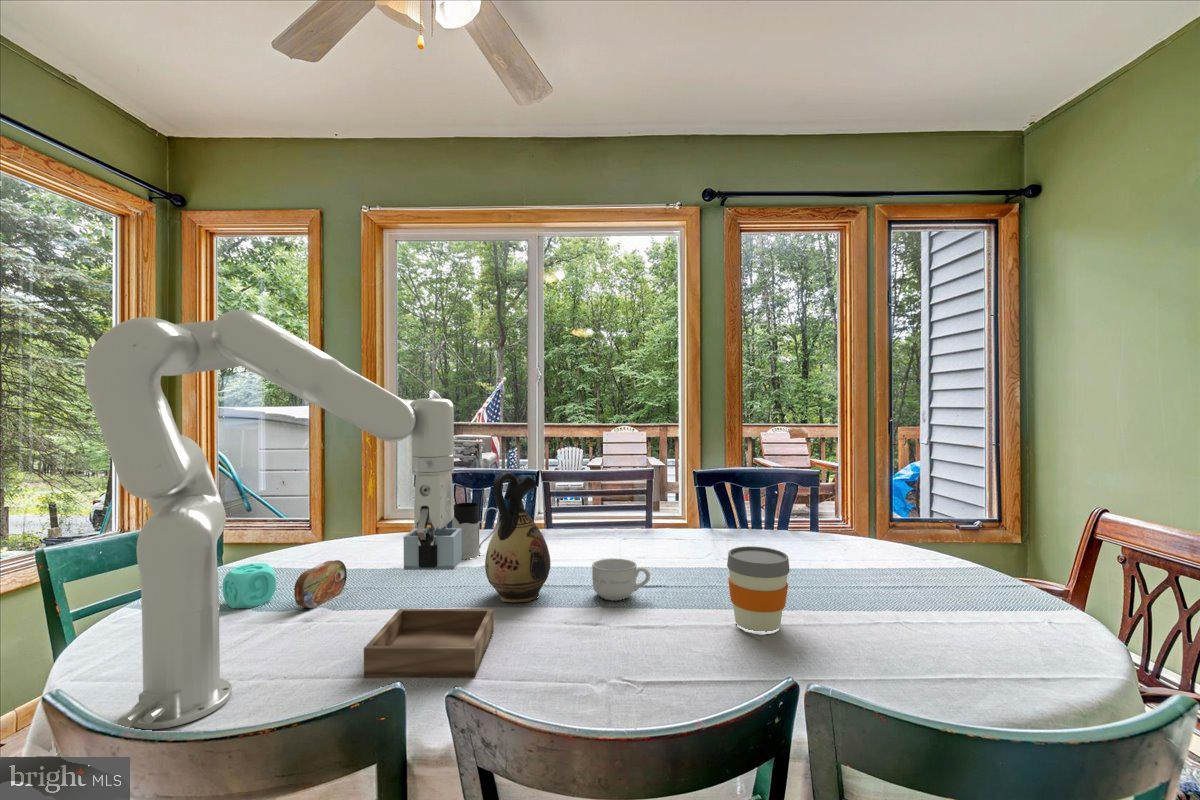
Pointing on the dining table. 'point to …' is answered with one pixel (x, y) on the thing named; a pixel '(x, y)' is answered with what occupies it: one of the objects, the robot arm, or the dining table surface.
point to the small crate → (446, 549)
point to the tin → (320, 584)
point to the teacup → (616, 578)
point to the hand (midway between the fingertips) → (433, 560)
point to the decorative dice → (249, 585)
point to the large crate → (430, 643)
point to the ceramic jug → (516, 545)
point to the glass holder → (469, 527)
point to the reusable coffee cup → (758, 586)
